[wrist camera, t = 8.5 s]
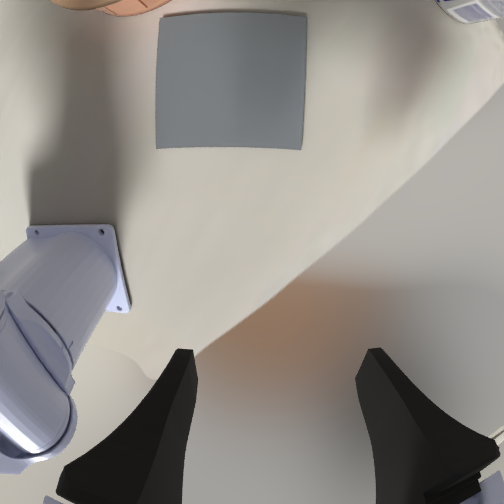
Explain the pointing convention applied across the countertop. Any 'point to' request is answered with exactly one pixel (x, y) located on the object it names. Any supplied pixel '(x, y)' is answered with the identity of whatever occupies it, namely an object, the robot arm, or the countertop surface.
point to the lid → (84, 4)
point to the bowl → (132, 7)
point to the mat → (231, 80)
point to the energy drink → (473, 10)
